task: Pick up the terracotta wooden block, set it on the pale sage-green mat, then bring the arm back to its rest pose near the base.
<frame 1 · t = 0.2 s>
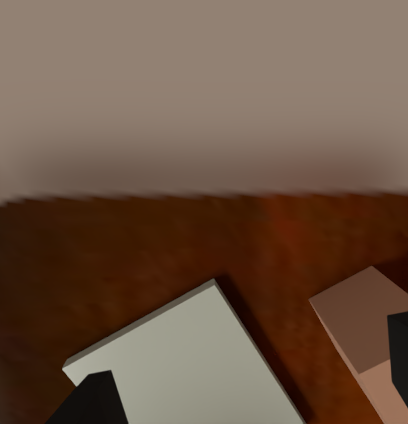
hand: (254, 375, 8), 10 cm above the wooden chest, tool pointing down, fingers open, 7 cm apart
block: (353, 309, 19), on the wooden chest
mat: (192, 393, 20), on the wooden chest
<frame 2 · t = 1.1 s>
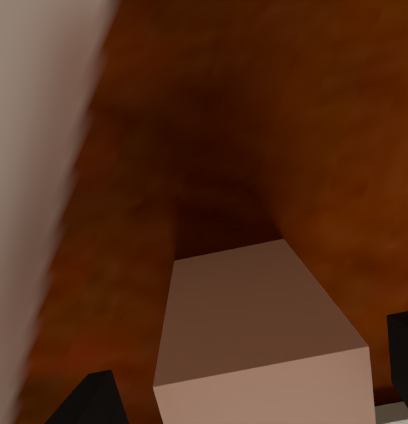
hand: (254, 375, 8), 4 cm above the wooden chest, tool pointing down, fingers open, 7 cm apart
block: (238, 298, 12), on the wooden chest
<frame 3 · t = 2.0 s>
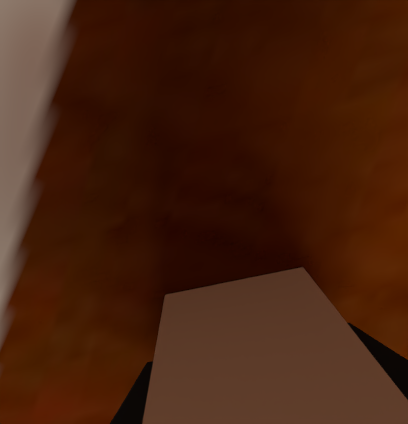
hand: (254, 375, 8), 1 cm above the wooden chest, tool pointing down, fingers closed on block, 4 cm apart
block: (245, 340, 10), on the wooden chest, touching gripper
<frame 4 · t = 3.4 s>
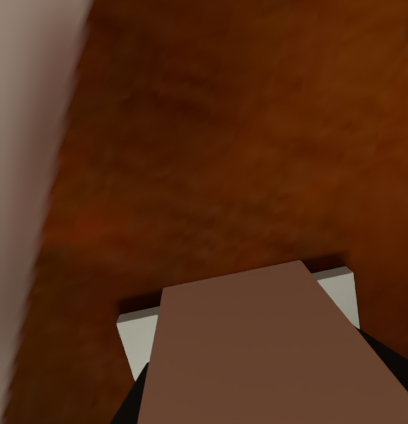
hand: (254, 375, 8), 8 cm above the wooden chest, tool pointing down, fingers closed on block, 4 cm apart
block: (243, 333, 10), point 7 cm above the wooden chest, touching gripper
mat: (249, 370, 18), on the wooden chest
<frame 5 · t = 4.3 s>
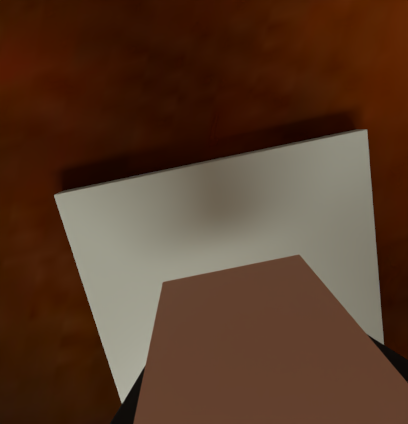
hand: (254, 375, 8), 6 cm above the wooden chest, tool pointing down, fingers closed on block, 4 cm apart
block: (242, 328, 10), point 4 cm above the wooden chest, touching gripper
mat: (230, 273, 14), on the wooden chest
when the fingers open (4 cm above the wooden chest, at t = 5.1 s): block drops 1 cm, resting on mat.
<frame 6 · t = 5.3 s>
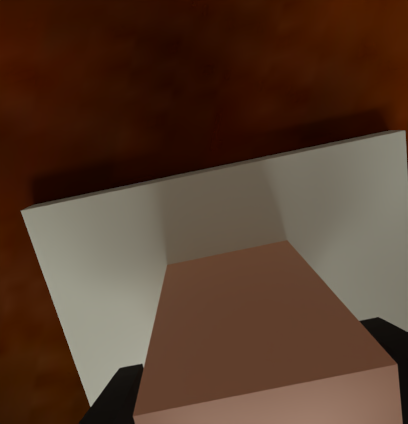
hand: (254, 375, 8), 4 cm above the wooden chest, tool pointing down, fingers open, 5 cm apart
block: (238, 307, 11), point 1 cm above the wooden chest, touching mat
mat: (236, 301, 12), on the wooden chest
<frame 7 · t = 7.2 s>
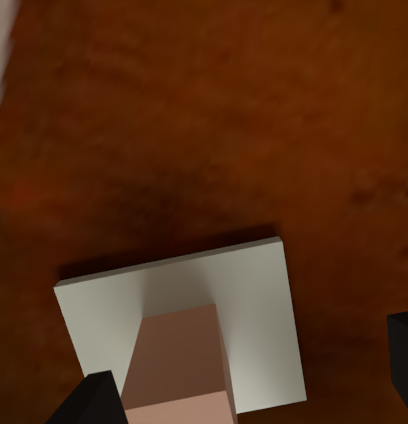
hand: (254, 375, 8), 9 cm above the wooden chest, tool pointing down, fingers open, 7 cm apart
block: (186, 342, 18), point 1 cm above the wooden chest, touching mat
mat: (188, 338, 19), on the wooden chest
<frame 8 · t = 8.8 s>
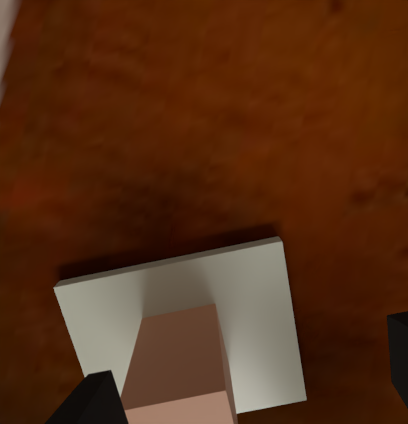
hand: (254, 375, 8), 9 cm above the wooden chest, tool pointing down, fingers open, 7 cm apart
block: (186, 342, 18), point 1 cm above the wooden chest, touching mat
mat: (188, 338, 19), on the wooden chest
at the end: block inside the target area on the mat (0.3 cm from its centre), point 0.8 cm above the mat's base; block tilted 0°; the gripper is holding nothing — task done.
